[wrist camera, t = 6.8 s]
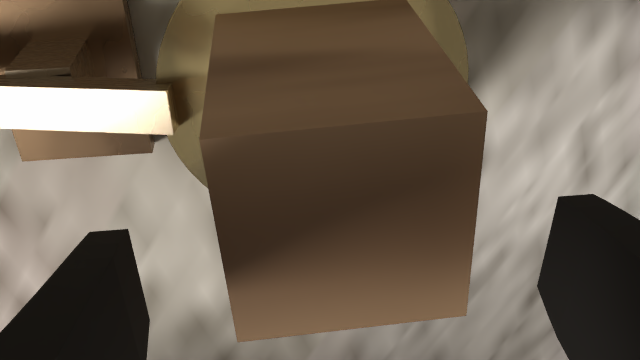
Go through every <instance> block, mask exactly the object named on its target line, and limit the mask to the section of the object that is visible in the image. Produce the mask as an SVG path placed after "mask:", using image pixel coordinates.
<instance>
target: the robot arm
mask: <svg viewBox="0 0 640 360" xmlns="http://www.w3.org/2000/svg"><path fill="white" fill-rule="evenodd" d="M537 287H538V290H539V292H540V295H541V298H542V300H543V303H544V306H545V308H546V311H547V314H548V316H549V319H550V321H551V324H552V326H553V328H554V331H555V333H556V336H557V338H558V340H559V342H560V344H561V346H562V347H563V349H564V351H565V353H566V355H567V357H568V358H569V360H640V220H638V219H637V218H635V217H633V216H632V215H630V214H628V213H627V212H625V211H623V210H622V209H620V208H618V207H616V206H615V205H613V204H611V203H609V202H607V201H606V200H604V199H602V198H600V197H598V196H596V195H594V194H587V195H574V196H561V197H558V200H557V205H556V209H555V213H554V217H553V222H552V226H551V230H550V234H549V238H548V243H547V247H546V251H545V255H544V260H543V264H542V268H541V272H540V276H539V281H538V285H537ZM149 322H150V319H149V315H148V310H147V306H146V302H145V298H144V294H143V290H142V285H141V281H140V277H139V273H138V269H137V265H136V260H135V256H134V252H133V248H132V244H131V240H130V235H129V231H128V229H123V230H109V231H96V232H89V233H88V234H87V235H86V237H85V238H84V239H83V240H82V241H81V242H80V243H79V244H78V245H77V247H76V248H75V249H74V250H73V251H72V252H71V253H70V255H69V256H68V257H67V258H66V259H65V260H64V262H63V263H62V264H61V265H60V266H59V267H58V269H57V270H56V271H55V272H54V273H53V274H52V275H51V277H50V278H49V279H48V280H47V281H46V282H45V284H44V285H43V286H42V287H41V288H40V289H39V290H38V292H37V293H36V294H35V295H34V296H33V297H32V298H31V299H30V300H29V302H28V303H27V304H26V305H25V306H24V307H23V308H22V309H21V310H20V312H19V313H18V314H17V315H16V316H15V317H14V318H13V319H12V320H11V321H10V323H9V324H8V325H7V326H6V327H5V328H4V329H3V330H2V331H1V332H0V360H146V357H147V347H148V335H149Z"/></svg>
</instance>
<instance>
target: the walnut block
mask: <svg viewBox="0 0 640 360" xmlns="http://www.w3.org/2000/svg"><path fill="white" fill-rule="evenodd" d="M487 112H488V111H487V110H486V108H485V107H484V106H483V104H482V103H481V102H480V100H479V99H478V97H477V96H476V95H475V93H474V92H473V91H472V89H471V88H470V86H469V85H468V84H467V82H466V81H465V80H464V78H463V77H462V75H461V74H460V73H459V71H458V70H457V69H456V67H455V66H454V64H453V63H452V62H451V60H450V59H449V58H448V56H447V55H446V53H445V52H444V51H443V49H442V48H441V47H440V45H439V44H438V42H437V41H436V40H435V38H434V37H433V36H432V34H431V33H430V31H429V30H428V29H427V27H426V26H425V25H424V23H423V22H422V20H421V19H420V18H419V16H418V15H417V14H416V12H415V11H414V9H413V8H412V7H411V5H410V4H409V3H408V1H407V0H374V1H363V2H351V3H340V4H329V5H317V6H306V7H295V8H283V9H272V10H261V11H249V12H238V13H227V14H215V22H214V30H213V37H212V45H211V53H210V60H209V68H208V76H207V83H206V91H205V99H204V106H203V114H202V121H201V129H200V137H199V142H200V147H201V152H202V158H203V163H204V168H205V173H206V179H207V184H208V189H209V194H210V200H211V205H212V210H213V215H214V221H215V226H216V231H217V236H218V242H219V247H220V252H221V257H222V263H223V268H224V273H225V278H226V284H227V289H228V294H229V299H230V305H231V310H232V315H233V320H234V326H235V331H236V336H237V341H238V342H244V341H252V340H261V339H270V338H278V337H287V336H295V335H304V334H313V333H321V332H330V331H338V330H347V329H356V328H364V327H373V326H381V325H390V324H399V323H407V322H416V321H424V320H433V319H441V318H450V317H459V316H466V313H467V303H468V294H469V284H470V274H471V265H472V255H473V246H474V236H475V227H476V217H477V208H478V198H479V188H480V179H481V169H482V160H483V150H484V141H485V131H486V122H487Z"/></svg>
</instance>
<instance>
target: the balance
mask: <svg viewBox="0 0 640 360" xmlns="http://www.w3.org/2000/svg"><path fill="white" fill-rule="evenodd" d="M363 1H374V0H180V1H179V3H178V5H177V7H176V9H175V11H174V12H173V14H172V16H171V18H170V20H169V23H168V26H167V29H166V32H165V34H164V37H163V40H162V43H161V46H160V51H159V56H158V62H157V67H156V79H142V75H141V70H140V65H139V60H138V54H137V49H136V44H135V39H134V34H133V28H132V23H131V18H130V13H129V8H128V2H127V0H0V129H12V132H13V135H14V138H15V141H16V144H17V147H18V150H19V153H20V156H21V159H22V161H36V160H51V159H66V158H81V157H96V156H111V155H126V154H141V153H152V152H153V148H154V144H155V143H154V138H153V134H160V135H167V137H168V139H169V141H170V143H171V145H172V147H173V148H174V150H175V152H176V153H177V155H178V157H179V158H180V159H181V161H182V162H183V163H184V165H185V166H186V167H187V168H188V170H189V171H190V172H191V173H192V174H193V175H194V176H195V177H196V178H197V179H198V180H199V181H200V182H201V183H202V184H203V185H205V186H206V187H207V188H208V184H207V179H206V173H205V168H204V163H203V158H202V152H201V147H200V142H199V137H200V129H201V121H202V114H203V106H204V99H205V91H206V83H207V76H208V68H209V60H210V53H211V45H212V37H213V30H214V22H215V14H227V13H238V12H249V11H261V10H272V9H283V8H295V7H306V6H317V5H329V4H340V3H351V2H363ZM407 1H408V3H409V4H410V5H411V7H412V8H413V9H414V11H415V12H416V14H417V15H418V16H419V18H420V19H421V20H422V22H423V23H424V25H425V26H426V27H427V29H428V30H429V31H430V33H431V34H432V36H433V37H434V38H435V40H436V41H437V42H438V44H439V45H440V47H441V48H442V49H443V51H444V52H445V53H446V55H447V56H448V58H449V59H450V60H451V62H452V63H453V64H454V66H455V67H456V69H457V70H458V71H459V73H460V74H461V75H462V77H463V78H464V80H465V81H466V82H467V84H468V69H469V68H468V57H467V48H466V44H465V40H464V35H463V31H462V29H461V26H460V24H459V21H458V18H457V16H456V13H455V12H454V10H453V8H452V6H451V5H450V3H449V1H448V0H407Z"/></svg>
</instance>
